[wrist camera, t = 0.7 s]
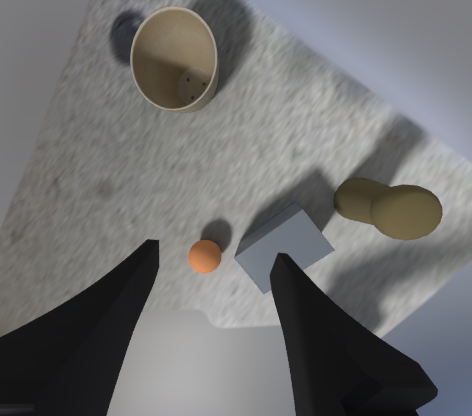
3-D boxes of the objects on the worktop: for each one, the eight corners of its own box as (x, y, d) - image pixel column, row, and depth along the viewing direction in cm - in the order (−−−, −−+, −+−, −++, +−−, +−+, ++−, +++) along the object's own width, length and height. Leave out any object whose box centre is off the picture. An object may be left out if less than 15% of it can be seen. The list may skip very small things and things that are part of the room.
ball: (230, 253, 31) (224, 267, 26) (208, 269, 32) (198, 286, 27) (211, 229, 31) (201, 240, 26) (189, 246, 32) (176, 259, 27)
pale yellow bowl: (186, 34, 26) (158, -17, 19) (243, 77, 26) (236, 42, 19) (151, 99, 28) (114, 75, 21) (203, 139, 28) (184, 128, 21)
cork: (325, 195, 27) (364, 210, 17) (363, 168, 26) (433, 165, 15) (349, 227, 28) (404, 262, 17) (389, 202, 26) (475, 223, 16)
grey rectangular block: (320, 234, 28) (334, 250, 23) (263, 271, 31) (263, 294, 25) (294, 201, 28) (303, 209, 22) (239, 241, 30) (234, 257, 25)
